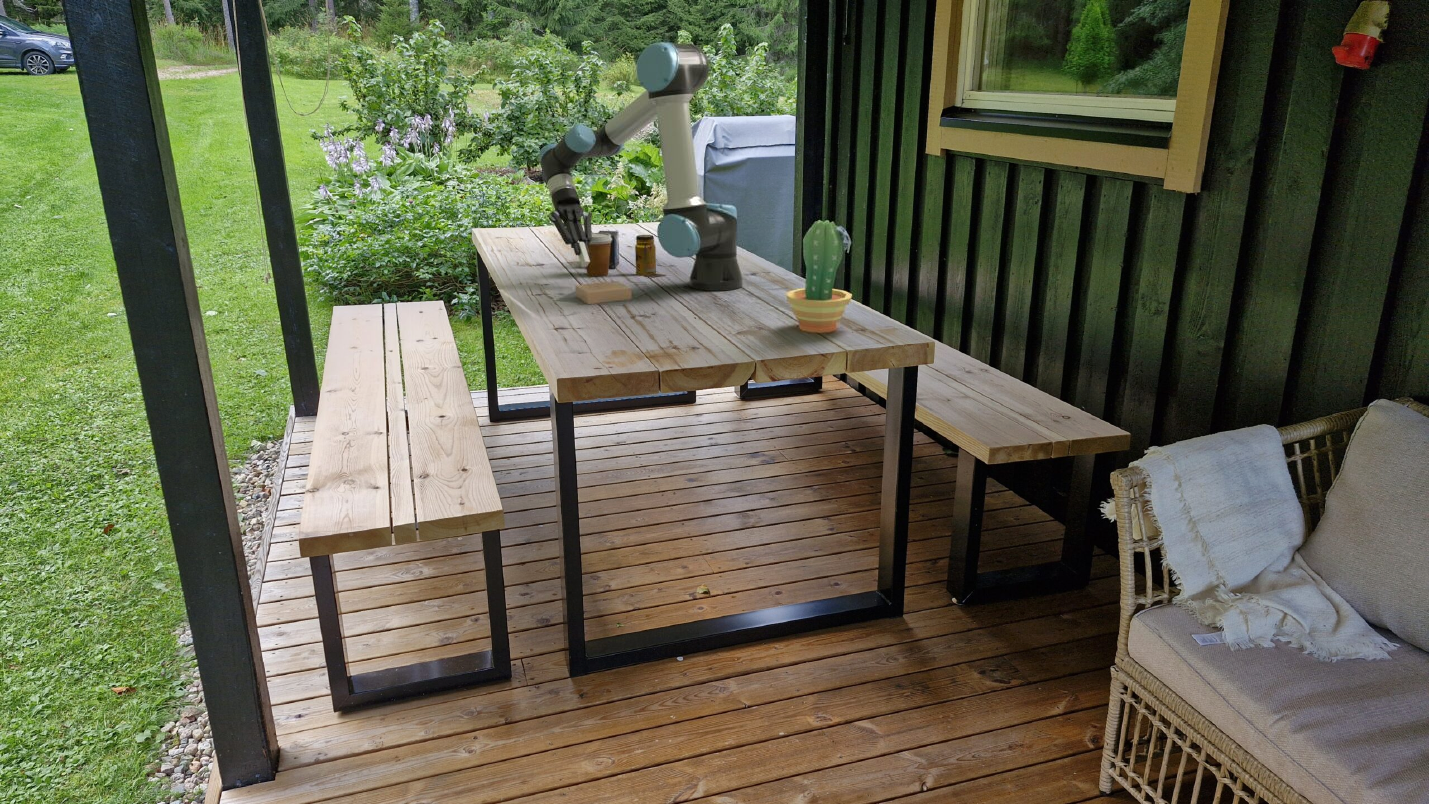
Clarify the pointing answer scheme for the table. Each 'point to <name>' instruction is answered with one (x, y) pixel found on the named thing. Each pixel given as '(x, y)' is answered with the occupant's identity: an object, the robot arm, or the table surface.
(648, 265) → the condiment
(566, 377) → the table surface
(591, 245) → the disposable coffee cup
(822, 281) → the potted cactus
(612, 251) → the small box
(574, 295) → the mat
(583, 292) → the tile
